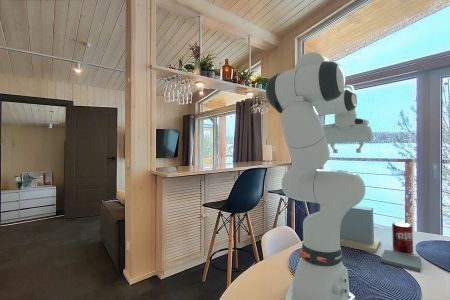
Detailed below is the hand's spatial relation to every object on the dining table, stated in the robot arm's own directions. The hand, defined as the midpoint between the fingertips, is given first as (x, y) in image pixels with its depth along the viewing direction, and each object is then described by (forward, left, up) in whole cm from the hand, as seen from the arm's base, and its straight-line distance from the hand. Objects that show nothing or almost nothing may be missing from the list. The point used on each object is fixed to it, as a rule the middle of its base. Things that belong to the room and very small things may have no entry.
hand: (346, 153), depth 103 cm
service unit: (+13, 0, -44) cm, 46 cm away
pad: (+3, -18, -44) cm, 48 cm away
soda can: (+15, -18, -45) cm, 50 cm away
